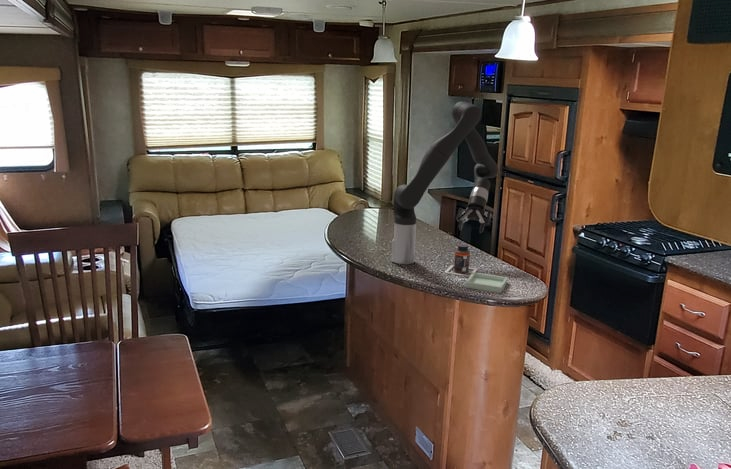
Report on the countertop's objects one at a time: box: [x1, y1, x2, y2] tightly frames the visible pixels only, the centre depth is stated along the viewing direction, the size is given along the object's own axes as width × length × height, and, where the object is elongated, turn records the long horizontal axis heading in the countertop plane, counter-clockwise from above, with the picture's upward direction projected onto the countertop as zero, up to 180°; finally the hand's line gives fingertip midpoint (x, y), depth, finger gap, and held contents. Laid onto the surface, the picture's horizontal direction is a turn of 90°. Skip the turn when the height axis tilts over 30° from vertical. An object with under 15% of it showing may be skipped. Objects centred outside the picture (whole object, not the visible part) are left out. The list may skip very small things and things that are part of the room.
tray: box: [464, 271, 509, 294], centre depth 220 cm, size 14×14×2 cm
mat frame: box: [443, 264, 479, 278], centre depth 236 cm, size 11×11×1 cm
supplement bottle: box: [453, 243, 471, 274], centre depth 235 cm, size 6×6×11 cm
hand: (470, 230), depth 243 cm, fingers open, 8 cm apart
